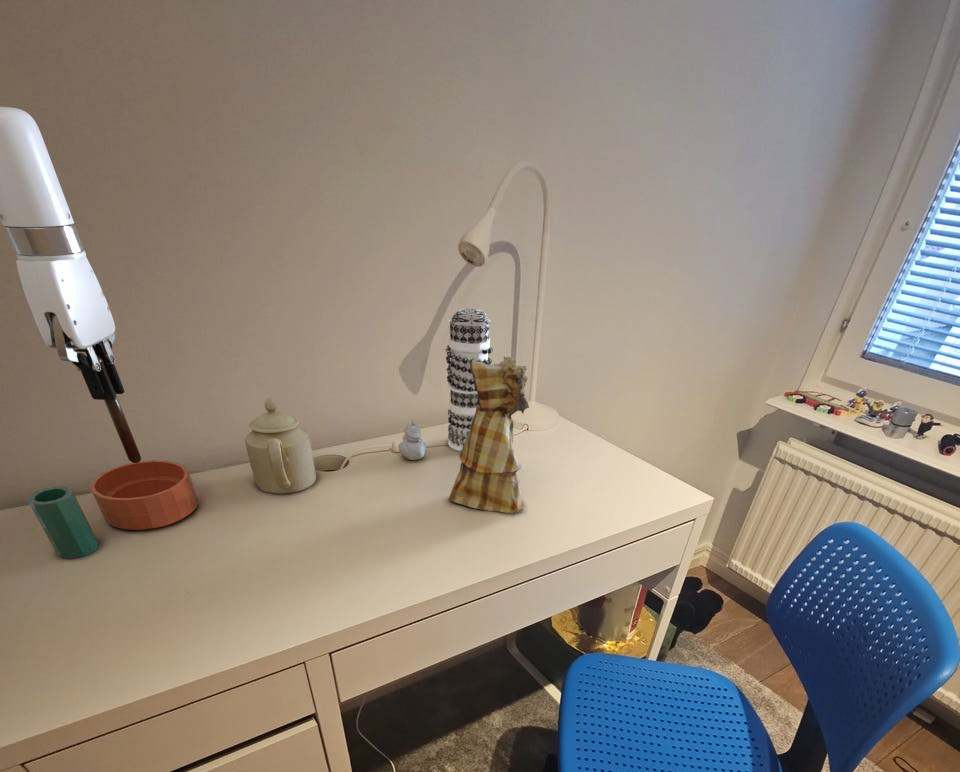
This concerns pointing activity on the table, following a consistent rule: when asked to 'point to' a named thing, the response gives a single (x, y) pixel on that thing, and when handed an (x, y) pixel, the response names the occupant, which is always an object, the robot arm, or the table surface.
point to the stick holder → (63, 522)
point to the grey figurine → (412, 443)
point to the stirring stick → (121, 424)
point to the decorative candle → (465, 370)
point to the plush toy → (492, 440)
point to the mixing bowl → (144, 494)
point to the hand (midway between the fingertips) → (109, 395)
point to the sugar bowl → (280, 452)
